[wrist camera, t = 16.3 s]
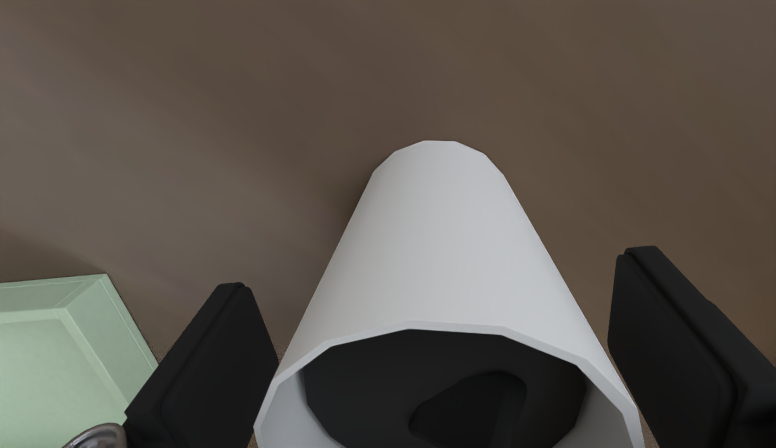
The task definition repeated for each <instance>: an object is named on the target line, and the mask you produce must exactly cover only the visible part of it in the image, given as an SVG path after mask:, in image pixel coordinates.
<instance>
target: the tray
mask: <svg viewBox="0 0 776 448" xmlns="http://www.w3.org/2000/svg"><path fill="white" fill-rule="evenodd" d="M158 365H159V364H158V363H157V361H156V359H155V357H154V356H153V354H152V352H151V350H150V349H149V347H148V345H147V343H146V342H145V340H144V338H143V336H142V335H141V333H140V331H139V329H138V328H137V326H136V324H135V322H134V321H133V319H132V317H131V315H130V314H129V312H128V310H127V308H126V307H125V305H124V303H123V301H122V300H121V298H120V296H119V294H118V293H117V291H116V289H115V288H114V286H113V284H112V282H111V281H110V279H109V277H108V275H107V274H96V275H85V276H74V277H63V278H52V279H41V280H30V281H19V282H8V283H0V448H62V447H63V446H64V445H65V444H66V443H68V442H69V441H70V440H71V439H72V438H74V437H75V436H77V435H78V434H80V433H82V432H83V431H85V430H87V429H89V428H91V427H94V426H96V425H99V424H103V423H108V422H110V423H118V424H119V425H121V426H122V425H123V423H124V422H125V420H126V419H127V416H126V415H125V413H124V411H125V410H126V408H127V407H128V406H129V404H130V403H131V402H132V400H133V399H134V398H135V396H136V395H137V393H138V392H139V391H140V389H141V388H142V387H143V385H144V384H145V383H146V381H147V380H148V379H149V377H150V376H151V375H152V373H153V372H154V371H155V369H156V368H157V367H158Z"/></svg>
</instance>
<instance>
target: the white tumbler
mask: <svg viewBox="0 0 776 448" xmlns="http://www.w3.org/2000/svg"><path fill="white" fill-rule="evenodd" d="M253 428H254V432H255V436H256V440H257V444H258V448H645V444H644V439H643V434H642V429H641V424H640V419H639V414H638V409H637V408H636V406H635V404H634V402H633V401H632V399H631V397H630V395H629V394H628V392H627V390H626V388H625V387H624V385H623V383H622V381H621V380H620V378H619V376H618V374H617V373H616V371H615V369H614V367H613V366H612V364H611V362H610V360H609V359H608V357H607V355H606V353H605V352H604V350H603V348H602V346H601V345H600V343H599V341H598V339H597V338H596V336H595V334H594V332H593V331H592V329H591V327H590V325H589V324H588V322H587V320H586V319H585V317H584V315H583V313H582V312H581V310H580V308H579V306H578V305H577V303H576V301H575V299H574V298H573V296H572V294H571V292H570V291H569V289H568V287H567V285H566V284H565V282H564V280H563V278H562V277H561V275H560V273H559V271H558V270H557V268H556V266H555V264H554V263H553V261H552V259H551V257H550V256H549V254H548V252H547V250H546V249H545V247H544V245H543V243H542V242H541V240H540V238H539V236H538V235H537V233H536V231H535V229H534V228H533V226H532V224H531V222H530V221H529V219H528V217H527V215H526V214H525V212H524V210H523V208H522V207H521V205H520V203H519V201H518V200H517V198H516V196H515V194H514V193H513V191H512V189H511V187H510V186H509V184H508V182H507V181H506V179H505V177H504V175H503V174H502V173H501V172H500V171H499V170H498V169H497V167H496V166H495V165H494V164H493V163H492V162H491V161H490V160H489V159H488V158H487V156H486V155H485V154H483V153H481V152H479V151H476V150H474V149H472V148H470V147H467V146H465V145H463V144H461V143H458V142H456V141H421V142H419V143H416V144H413V145H411V146H408V147H405V148H402V149H400V150H397V151H395V152H394V153H393V154H391V155H390V156H389V157H388V158H387V159H386V160H385V161H384V162H383V163H382V164H381V165H380V166H379V167H377V168H376V169H375V170H374V171H373V174H372V176H371V178H370V180H369V182H368V184H367V186H366V188H365V190H364V192H363V194H362V196H361V198H360V201H359V203H358V205H357V207H356V209H355V211H354V213H353V215H352V217H351V219H350V221H349V223H348V225H347V227H346V229H345V231H344V233H343V235H342V238H341V240H340V242H339V244H338V246H337V248H336V250H335V252H334V254H333V256H332V258H331V260H330V262H329V264H328V266H327V268H326V270H325V272H324V275H323V277H322V279H321V281H320V283H319V285H318V287H317V289H316V291H315V293H314V295H313V297H312V299H311V301H310V303H309V305H308V307H307V309H306V311H305V314H304V316H303V318H302V320H301V322H300V324H299V326H298V328H297V330H296V332H295V334H294V336H293V338H292V340H291V342H290V344H289V346H288V348H287V351H286V353H285V355H284V357H283V359H282V361H281V363H280V365H279V367H278V369H277V371H276V373H275V375H274V377H273V379H272V382H271V384H270V386H269V389H268V391H267V394H266V396H265V399H264V401H263V404H262V406H261V409H260V411H259V414H258V416H257V419H256V421H255V424H254V426H253Z"/></svg>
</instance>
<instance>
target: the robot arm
mask: <svg viewBox="0 0 776 448" xmlns="http://www.w3.org/2000/svg"><path fill="white" fill-rule="evenodd" d="M608 348H609V351H610V354H611V356H612V358H613V360H614V362H615V364H616V365H617V367H618V369H619V371H620V373H621V375H622V377H623V379H624V381H625V382H626V384H627V386H628V388H629V390H630V392H631V394H632V396H633V398H634V400H635V401H636V403H637V405H638V407H639V409H640V411H641V413H642V415H643V417H644V419H645V420H646V422H647V424H648V426H649V428H650V430H651V432H652V434H653V436H654V437H655V439H656V441H657V443H658V445H659V447H660V448H776V368H775V367H774V366H773V365H772V364H771V363H770V362H769V361H768V359H767V358H766V357H765V356H764V355H763V354H762V353H761V352H760V351H759V350H758V349H757V348H756V347H755V346H754V345H753V344H752V343H751V342H750V341H749V340H748V339H747V338H746V337H745V336H744V335H743V333H742V332H741V331H740V330H739V329H738V328H737V327H736V326H735V325H734V324H733V323H732V322H731V321H730V320H729V319H728V318H727V317H726V316H725V315H724V314H723V313H722V312H721V311H720V310H719V309H718V307H717V306H716V305H714V304H713V303H712V302H711V301H709V300H707V299H706V298H705V297H704V296H703V295H702V294H701V293H700V292H699V291H698V290H697V289H696V288H695V287H694V286H693V284H692V283H691V282H690V281H689V280H688V279H687V278H686V277H685V276H684V275H683V274H682V273H681V272H680V271H679V270H678V269H677V268H676V267H675V266H674V265H673V263H672V262H671V261H670V260H669V259H668V258H667V257H666V256H665V255H664V254H663V253H662V252H661V251H660V250H659V249H658V248H657V247H656V246H644V247H633V248H627V249H626V250H625V252H624V254H623V255H618V257H617V260H616V268H615V277H614V286H613V295H612V304H611V312H610V321H609V330H608ZM278 367H279V361H278V357H277V354H276V352H275V349H274V347H273V344H272V342H271V339H270V337H269V334H268V331H267V329H266V326H265V324H264V321H263V319H262V316H261V313H260V311H259V308H258V306H257V303H256V301H255V298H254V296H253V293H252V291H251V289H250V288H249V287H245V285H244V284H243V283H241V282H237V283H226V284H220V285H218V286H217V287H216V289H215V290H214V291H213V293H212V294H211V295H210V297H209V298H208V299H207V301H206V302H205V303H204V305H203V306H202V307H201V309H200V310H199V311H198V313H197V314H196V315H195V317H194V318H193V319H192V321H191V322H190V324H189V325H188V326H187V328H186V329H185V330H184V332H183V333H182V334H181V336H180V337H179V338H178V340H177V341H176V342H175V344H174V345H173V346H172V348H171V349H170V350H169V352H168V353H167V354H166V356H165V357H164V359H163V360H162V361H161V363H160V364H159V365H158V367H157V368H156V369H155V371H154V372H153V373H152V375H151V376H150V377H149V379H148V380H147V381H146V383H145V384H144V385H143V387H142V388H141V389H140V391H139V392H138V393H137V395H136V396H135V398H134V399H133V400H132V402H131V403H130V404H129V406H128V407H127V408H126V410H125V411H124V413H125V415H126V416H127V419H126V420H125V422H124V423H123V425H122V426H121V425H119V424H118V423H110V422H108V423H103V424H99V425H96V426H94V427H91V428H89V429H87V430H85V431H83V432H82V433H80V434H78V435H77V436H75V437H74V438H72V439H71V440H70V441H69V442H68V443H66V444H65V445H64V446H63V447H62V448H247V446H248V444H249V441H250V439H251V436H252V434H253V431H254V428H253V426H254V424H255V421H256V419H257V416H258V414H259V411H260V409H261V406H262V404H263V401H264V399H265V396H266V394H267V391H268V389H269V386H270V384H271V382H272V379H273V377H274V375H275V373H276V371H277V369H278Z"/></svg>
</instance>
